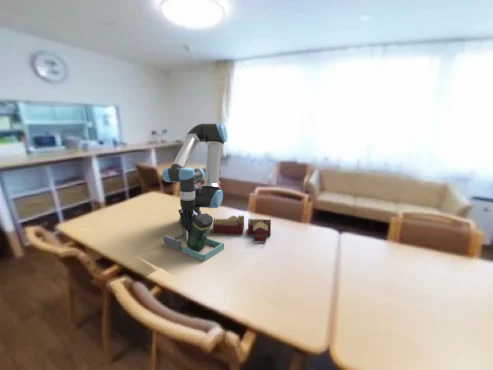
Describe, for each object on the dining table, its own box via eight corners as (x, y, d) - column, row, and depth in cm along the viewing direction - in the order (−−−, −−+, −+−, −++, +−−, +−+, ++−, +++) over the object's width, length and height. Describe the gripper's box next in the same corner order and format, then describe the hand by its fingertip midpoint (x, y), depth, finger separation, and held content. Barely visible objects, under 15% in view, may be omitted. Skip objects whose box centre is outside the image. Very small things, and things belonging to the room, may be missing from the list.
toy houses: (270, 227, 149) (270, 212, 147) (270, 242, 129) (271, 225, 127) (200, 225, 153) (199, 210, 151) (190, 240, 133) (189, 223, 131)
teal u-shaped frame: (202, 240, 132) (202, 235, 131) (224, 248, 123) (223, 243, 122) (181, 251, 120) (181, 246, 119) (204, 261, 111) (203, 255, 110)
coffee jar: (194, 254, 118) (204, 224, 111) (183, 245, 121) (192, 215, 114) (207, 246, 126) (216, 217, 119) (196, 237, 129) (205, 209, 122)
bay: (184, 234, 140) (183, 218, 137) (200, 240, 132) (199, 223, 130) (163, 244, 128) (162, 227, 126) (179, 250, 121) (178, 233, 119)
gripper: (173, 197, 120) (175, 240, 126) (190, 202, 113) (192, 247, 119) (185, 194, 126) (186, 235, 132) (202, 199, 119) (203, 242, 125)
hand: (189, 241), depth 125 cm, fingers closed
